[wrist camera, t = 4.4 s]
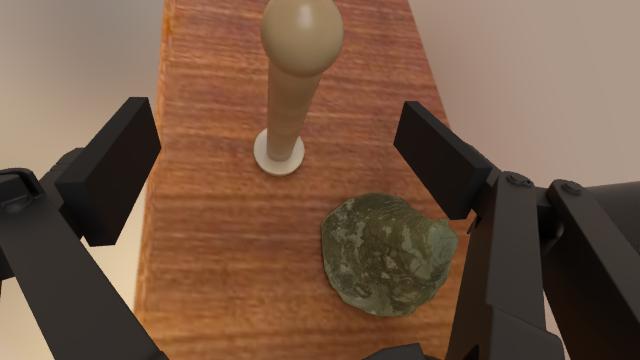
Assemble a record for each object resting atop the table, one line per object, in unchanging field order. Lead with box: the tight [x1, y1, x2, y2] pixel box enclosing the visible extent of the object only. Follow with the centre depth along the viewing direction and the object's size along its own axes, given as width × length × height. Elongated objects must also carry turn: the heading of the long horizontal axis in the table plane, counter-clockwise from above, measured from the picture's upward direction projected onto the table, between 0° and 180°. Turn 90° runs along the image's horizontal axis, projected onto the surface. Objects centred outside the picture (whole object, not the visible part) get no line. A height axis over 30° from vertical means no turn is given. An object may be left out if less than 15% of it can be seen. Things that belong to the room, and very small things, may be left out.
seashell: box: [321, 193, 458, 317], centre depth 25 cm, size 10×7×10 cm
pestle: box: [254, 0, 344, 177], centre depth 17 cm, size 4×4×18 cm
